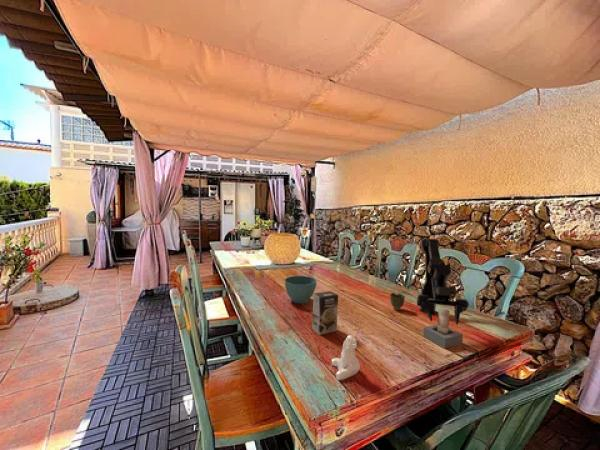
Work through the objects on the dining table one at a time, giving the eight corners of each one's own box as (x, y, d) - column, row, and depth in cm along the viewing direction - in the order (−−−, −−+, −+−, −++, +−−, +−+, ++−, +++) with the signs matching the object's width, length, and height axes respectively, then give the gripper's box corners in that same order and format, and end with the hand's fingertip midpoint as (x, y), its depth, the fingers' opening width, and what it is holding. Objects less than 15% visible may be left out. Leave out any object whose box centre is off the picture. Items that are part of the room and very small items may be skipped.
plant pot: (321, 299, 151) (322, 279, 150) (305, 309, 136) (306, 286, 135) (295, 293, 161) (296, 274, 160) (277, 302, 145) (278, 280, 145)
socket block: (440, 332, 113) (440, 323, 112) (462, 343, 104) (462, 334, 103) (423, 336, 109) (423, 327, 109) (444, 348, 100) (445, 338, 99)
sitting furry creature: (330, 363, 88) (331, 328, 88) (354, 362, 89) (356, 328, 89) (336, 381, 79) (337, 343, 78) (364, 380, 80) (365, 342, 79)
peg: (438, 336, 109) (440, 307, 108) (449, 340, 106) (450, 310, 106) (435, 340, 106) (437, 310, 105) (446, 343, 103) (447, 313, 103)
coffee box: (319, 335, 108) (320, 297, 107) (311, 329, 113) (312, 292, 112) (337, 331, 112) (338, 294, 111) (329, 325, 118) (330, 290, 117)
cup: (403, 308, 141) (404, 293, 140) (404, 313, 134) (405, 297, 133) (389, 306, 143) (390, 292, 143) (389, 311, 136) (390, 296, 136)
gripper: (419, 276, 111) (421, 310, 101) (468, 280, 106) (476, 317, 96) (415, 288, 119) (417, 322, 109) (461, 293, 114) (468, 329, 104)
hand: (444, 322), depth 104 cm, fingers open, 9 cm apart
